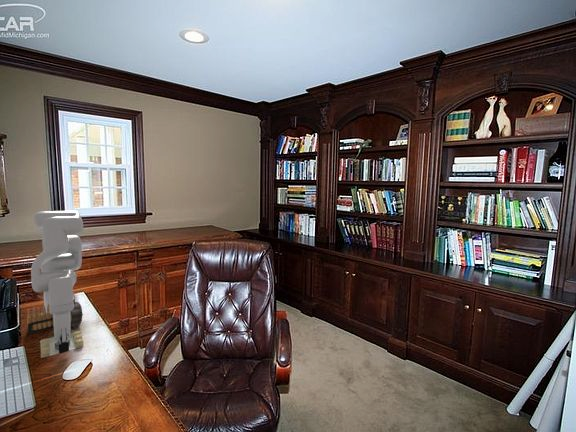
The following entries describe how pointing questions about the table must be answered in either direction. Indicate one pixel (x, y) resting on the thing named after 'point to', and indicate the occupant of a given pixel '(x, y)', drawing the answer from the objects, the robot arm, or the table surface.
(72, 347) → the spacer board
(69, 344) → the grey faceted block
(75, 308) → the alarm clock
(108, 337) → the table surface
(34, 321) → the ammunition clip
